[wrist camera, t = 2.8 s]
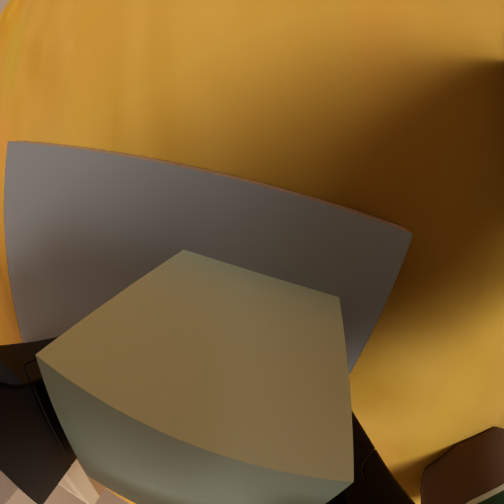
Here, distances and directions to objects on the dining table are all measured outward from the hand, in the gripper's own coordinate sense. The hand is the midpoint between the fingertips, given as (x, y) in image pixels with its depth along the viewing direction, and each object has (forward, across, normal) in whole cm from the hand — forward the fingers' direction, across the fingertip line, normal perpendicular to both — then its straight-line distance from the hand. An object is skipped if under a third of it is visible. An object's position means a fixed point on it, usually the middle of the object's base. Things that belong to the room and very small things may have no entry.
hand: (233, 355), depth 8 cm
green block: (+1, 0, 0) cm, 1 cm away
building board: (+2, +5, +6) cm, 8 cm away
